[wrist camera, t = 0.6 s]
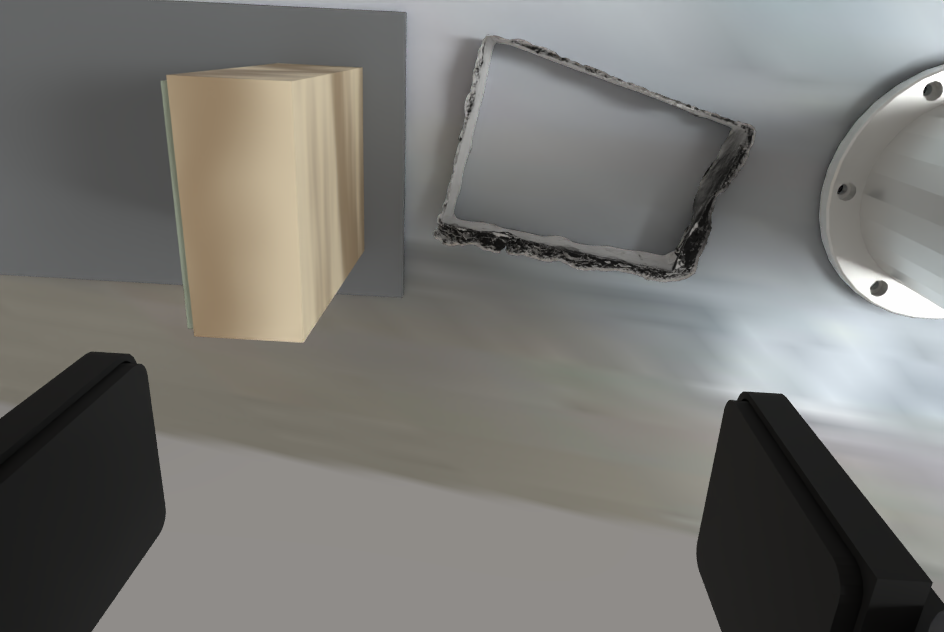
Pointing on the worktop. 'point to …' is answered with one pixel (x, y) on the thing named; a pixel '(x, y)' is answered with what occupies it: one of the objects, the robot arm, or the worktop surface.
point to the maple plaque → (265, 194)
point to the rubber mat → (144, 132)
